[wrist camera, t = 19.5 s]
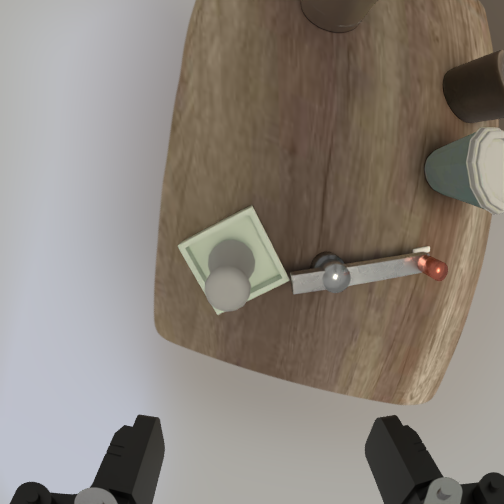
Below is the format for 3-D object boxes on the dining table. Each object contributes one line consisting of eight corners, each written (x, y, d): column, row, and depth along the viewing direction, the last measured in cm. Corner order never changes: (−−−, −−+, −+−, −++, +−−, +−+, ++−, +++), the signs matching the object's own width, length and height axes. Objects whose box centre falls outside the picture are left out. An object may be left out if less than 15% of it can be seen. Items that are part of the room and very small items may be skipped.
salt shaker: (239, 287, 41) (237, 333, 28) (202, 265, 40) (183, 303, 27) (263, 250, 40) (271, 283, 27) (224, 227, 39) (215, 249, 26)
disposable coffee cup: (410, 200, 40) (476, 212, 25) (412, 128, 37) (477, 113, 23) (461, 207, 40) (527, 221, 25) (463, 142, 38) (529, 136, 23)
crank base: (305, 260, 41) (308, 264, 39) (334, 246, 41) (338, 249, 39) (318, 287, 42) (321, 292, 40) (345, 273, 42) (350, 277, 40)
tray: (182, 241, 40) (177, 245, 37) (251, 204, 39) (252, 206, 37) (219, 306, 42) (217, 315, 40) (286, 273, 42) (289, 280, 39)
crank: (290, 291, 40) (299, 312, 33) (288, 264, 39) (296, 281, 32) (421, 269, 40) (447, 283, 33) (421, 245, 39) (448, 256, 32)
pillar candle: (434, 92, 36) (496, 70, 21) (454, 58, 34) (510, 34, 20) (471, 135, 37) (535, 130, 23) (488, 99, 36) (547, 88, 21)
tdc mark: (412, 254, 41) (414, 254, 41) (412, 248, 41) (414, 249, 41) (428, 251, 41) (429, 251, 41) (428, 245, 41) (429, 246, 41)
